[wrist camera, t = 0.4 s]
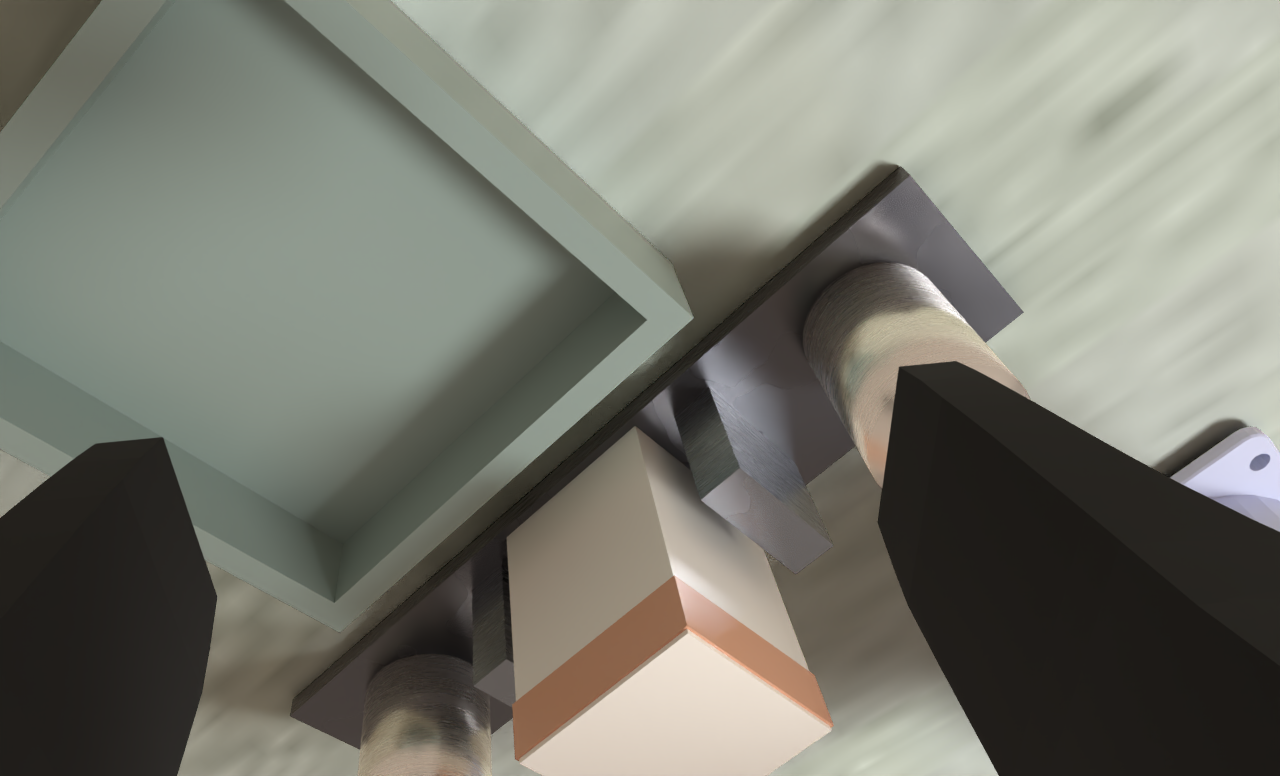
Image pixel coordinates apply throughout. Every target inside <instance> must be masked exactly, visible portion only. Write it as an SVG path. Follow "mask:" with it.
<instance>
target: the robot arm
mask: <svg viewBox="0 0 1280 776" xmlns="http://www.w3.org/2000/svg"><path fill="white" fill-rule="evenodd" d="M878 525H879V528H880V531H881V533H882V536H883V539H884V542H885V545H886V548H887V551H888V553H889V556H890V559H891V562H892V565H893V568H894V570H895V573H896V575H897V578H898V581H899V583H900V586H901V588H902V591H903V594H904V596H905V599H906V601H907V604H908V606H909V608H910V610H911V612H912V614H913V616H914V618H915V620H916V622H917V624H918V626H919V628H920V629H921V631H922V633H923V635H924V637H925V639H926V641H927V643H928V645H929V647H930V648H931V650H932V652H933V654H934V656H935V658H936V660H937V662H938V664H939V665H940V667H941V669H942V671H943V673H944V675H945V677H946V679H947V680H948V682H949V684H950V686H951V688H952V690H953V692H954V693H955V695H956V697H957V699H958V701H959V703H960V705H961V706H962V708H963V710H964V712H965V714H966V716H967V717H968V719H969V721H970V723H971V725H972V727H973V729H974V730H975V732H976V734H977V736H978V738H979V740H980V742H981V743H982V745H983V747H984V749H985V751H986V753H987V755H988V756H989V758H990V760H991V762H992V764H993V766H994V768H995V769H996V771H997V773H998V775H999V776H1280V452H1279V451H1278V449H1277V448H1276V447H1275V445H1274V444H1273V442H1272V441H1271V439H1270V438H1269V437H1268V436H1267V435H1266V434H1264V433H1263V432H1262V431H1261V430H1260V429H1258V428H1257V427H1251V426H1250V427H1245V428H1241V429H1239V430H1237V431H1236V432H1234V433H1232V434H1231V435H1230V436H1228V437H1227V438H1225V439H1224V440H1222V441H1221V442H1220V443H1218V444H1217V445H1215V446H1214V447H1212V448H1211V449H1210V450H1208V451H1207V452H1205V453H1204V454H1203V455H1201V456H1200V457H1198V458H1197V459H1195V460H1194V461H1193V462H1191V463H1190V464H1188V465H1187V466H1185V467H1184V468H1183V469H1181V470H1180V471H1178V472H1177V473H1176V474H1174V475H1173V476H1171V477H1170V478H1169V477H1167V476H1165V475H1164V474H1162V473H1160V472H1158V471H1156V470H1154V469H1152V468H1150V467H1148V466H1147V465H1145V464H1143V463H1141V462H1139V461H1137V460H1136V459H1134V458H1132V457H1130V456H1128V455H1126V454H1125V453H1123V452H1121V451H1119V450H1117V449H1116V448H1114V447H1112V446H1110V445H1108V444H1107V443H1105V442H1103V441H1101V440H1099V439H1098V438H1096V437H1094V436H1092V435H1091V434H1089V433H1087V432H1085V431H1084V430H1082V429H1080V428H1078V427H1077V426H1075V425H1073V424H1071V423H1070V422H1068V421H1066V420H1064V419H1063V418H1061V417H1059V416H1057V415H1056V414H1054V413H1052V412H1050V411H1049V410H1047V409H1045V408H1043V407H1042V406H1040V405H1038V404H1036V403H1035V402H1033V401H1031V400H1029V399H1028V398H1026V397H1024V396H1022V395H1021V394H1019V393H1017V392H1015V391H1013V390H1012V389H1010V388H1008V387H1006V386H1005V385H1003V384H1001V383H999V382H997V381H995V380H994V379H992V378H990V377H988V376H986V375H984V374H982V373H980V372H978V371H976V370H974V369H972V368H970V367H968V366H966V365H964V364H962V363H960V362H957V361H951V362H941V363H930V364H920V365H909V366H899V369H898V376H897V384H896V391H895V398H894V406H893V413H892V420H891V428H890V435H889V442H888V450H887V457H886V464H885V472H884V479H883V487H882V494H881V501H880V509H879V516H878ZM216 602H217V595H216V592H215V589H214V586H213V583H212V580H211V577H210V574H209V571H208V568H207V565H206V562H205V559H204V556H203V553H202V550H201V548H200V545H199V542H198V539H197V536H196V533H195V530H194V527H193V524H192V521H191V518H190V515H189V512H188V509H187V506H186V503H185V500H184V497H183V494H182V491H181V489H180V486H179V483H178V480H177V477H176V474H175V471H174V468H173V465H172V462H171V459H170V456H169V453H168V450H167V447H166V444H165V441H164V438H163V437H158V438H147V439H137V440H126V441H116V442H106V443H96V444H94V445H93V446H91V447H90V448H88V449H87V450H85V451H84V452H83V453H81V454H80V455H78V456H77V457H76V458H74V459H73V460H72V461H70V462H69V463H68V464H66V465H65V466H64V467H63V468H61V469H60V470H59V471H57V472H56V473H55V474H54V475H52V476H51V477H50V478H49V479H47V480H46V481H45V482H44V483H42V484H41V485H40V486H39V487H37V488H36V489H35V490H34V491H33V492H31V493H30V494H29V495H28V496H27V497H25V498H24V499H23V500H22V501H20V502H19V503H18V504H17V505H16V506H14V507H13V508H12V509H11V510H9V511H8V512H7V513H6V514H5V515H3V516H2V517H1V518H0V776H177V774H178V771H179V767H180V764H181V761H182V757H183V754H184V751H185V748H186V744H187V741H188V738H189V734H190V731H191V728H192V725H193V721H194V718H195V715H196V711H197V708H198V704H199V701H200V697H201V694H202V690H203V684H204V678H205V673H206V667H207V661H208V656H209V650H210V643H211V637H212V630H213V623H214V616H215V609H216Z"/></svg>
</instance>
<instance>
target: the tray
mask: <svg viewBox="0 0 1280 776" xmlns="http://www.w3.org/2000/svg"><path fill="white" fill-rule="evenodd" d="M693 318H694V317H693V315H692V312H691V310H690V307H689V305H688V302H687V300H686V297H685V295H684V292H683V290H682V288H681V285H680V283H679V280H678V278H677V275H676V273H675V270H674V268H673V266H672V263H671V262H670V261H669V260H668V259H666V258H665V257H664V256H663V255H662V254H661V253H660V252H659V251H658V250H657V249H656V248H655V247H654V246H653V245H652V244H650V243H649V242H648V241H647V240H646V239H645V238H644V237H643V236H642V235H641V234H640V233H639V232H638V231H637V230H635V229H634V228H633V227H632V226H631V225H630V224H629V223H628V222H627V221H626V220H625V219H624V218H623V217H622V216H621V215H619V214H618V213H617V212H616V211H615V210H614V209H613V208H612V207H611V206H610V205H609V204H608V203H607V202H606V201H605V200H603V199H602V198H601V197H600V196H599V195H598V194H597V193H596V192H595V191H594V190H593V189H592V188H591V187H590V186H588V185H587V184H586V183H585V182H584V181H583V180H582V179H581V178H580V177H579V176H578V175H577V174H576V173H575V172H574V171H572V170H571V169H570V168H569V167H568V166H567V165H566V164H565V163H564V162H563V161H562V160H561V159H560V158H559V157H557V156H556V155H555V154H554V153H553V152H552V151H551V150H550V149H549V148H548V147H547V146H546V145H545V144H544V143H543V142H541V141H540V140H539V139H538V138H537V137H536V136H535V135H534V134H533V133H532V132H531V131H530V130H529V129H528V128H527V127H525V126H524V125H523V124H522V123H521V122H520V121H519V120H518V119H517V118H516V117H515V116H514V115H513V114H512V113H510V112H509V111H508V110H507V109H506V108H505V107H504V106H503V105H502V104H501V103H500V102H499V101H498V100H497V99H496V98H494V97H493V96H492V95H491V94H490V93H489V92H488V91H487V90H486V89H485V88H484V87H483V86H482V85H481V84H479V83H478V82H477V81H476V80H475V79H474V78H473V77H472V76H471V75H470V74H469V73H468V72H467V71H466V70H465V69H463V68H462V67H461V66H460V65H459V64H458V63H457V62H456V61H455V60H454V59H453V58H452V57H451V56H450V55H448V54H447V53H446V52H445V51H444V50H443V49H442V48H441V47H440V46H439V45H438V44H437V43H436V42H435V41H434V40H432V39H431V38H430V37H429V36H428V35H427V34H426V33H425V32H424V31H423V30H422V29H421V28H420V27H419V26H418V25H416V24H415V23H414V22H413V21H412V20H411V19H410V18H409V17H408V16H407V15H406V14H405V13H404V12H403V11H401V10H400V9H399V8H398V7H397V6H396V5H395V4H394V3H393V2H392V1H391V0H102V1H101V2H100V4H99V5H98V6H97V7H96V9H95V10H94V11H93V13H92V14H91V15H90V17H89V18H88V19H87V20H86V22H85V23H84V24H83V26H82V27H81V28H80V30H79V31H78V32H77V33H76V35H75V36H74V37H73V39H72V40H71V41H70V43H69V44H68V45H67V46H66V48H65V49H64V50H63V52H62V53H61V54H60V55H59V57H58V58H57V59H56V61H55V62H54V63H53V65H52V66H51V67H50V68H49V70H48V71H47V72H46V74H45V75H44V76H43V78H42V79H41V80H40V81H39V83H38V84H37V85H36V87H35V88H34V89H33V91H32V92H31V93H30V94H29V96H28V97H27V98H26V100H25V101H24V102H23V103H22V105H21V106H20V107H19V109H18V110H17V111H16V113H15V114H14V115H13V116H12V118H11V119H10V120H9V122H8V123H7V124H6V126H5V127H4V128H3V129H2V131H1V132H0V450H2V451H4V452H6V453H8V454H10V455H11V456H13V457H15V458H17V459H19V460H21V461H23V462H24V463H26V464H28V465H30V466H32V467H34V468H35V469H37V470H39V471H41V472H43V473H45V474H47V475H48V476H50V477H51V476H52V475H54V474H55V473H56V472H57V471H59V470H60V469H61V468H63V467H64V466H65V465H66V464H68V463H69V462H70V461H72V460H73V459H74V458H76V457H77V456H78V455H80V454H81V453H83V452H84V451H85V450H87V449H88V448H90V447H91V446H93V445H94V444H96V443H106V442H116V441H126V440H137V439H147V438H158V437H163V438H164V441H165V444H166V447H167V450H168V453H169V456H170V459H171V462H172V465H173V468H174V471H175V474H176V477H177V480H178V483H179V486H180V489H181V491H182V494H183V497H184V500H185V503H186V506H187V509H188V512H189V515H190V518H191V521H192V524H193V527H194V530H195V533H196V536H197V539H198V542H199V545H200V548H201V550H202V553H203V556H204V559H205V560H206V561H208V562H209V563H211V564H213V565H215V566H217V567H219V568H221V569H222V570H224V571H226V572H228V573H230V574H232V575H233V576H235V577H237V578H239V579H241V580H243V581H245V582H246V583H248V584H250V585H252V586H254V587H256V588H258V589H259V590H261V591H263V592H265V593H267V594H269V595H271V596H272V597H274V598H276V599H278V600H280V601H282V602H283V603H285V604H287V605H289V606H291V607H293V608H295V609H296V610H298V611H300V612H302V613H304V614H306V615H308V616H309V617H311V618H313V619H315V620H317V621H319V622H320V623H322V624H324V625H326V626H328V627H330V628H332V629H333V630H335V631H337V632H339V633H340V632H341V631H342V630H344V629H345V628H346V627H347V626H348V625H349V624H350V623H351V622H353V621H354V620H355V619H356V618H357V617H358V616H359V615H360V614H362V613H363V612H364V611H365V610H366V609H367V608H368V607H369V606H371V605H372V604H373V603H374V602H375V601H376V600H377V599H378V598H380V597H381V596H382V595H383V594H384V593H385V592H386V591H387V590H389V589H390V588H391V587H392V586H393V585H394V584H395V583H396V582H398V581H399V580H400V579H401V578H402V577H403V576H404V575H405V574H407V573H408V572H409V571H410V570H411V569H412V568H413V567H414V566H416V565H417V564H418V563H419V562H420V561H421V560H422V559H423V558H425V557H426V556H427V555H428V554H429V553H430V552H431V551H432V550H434V549H435V548H436V547H437V546H438V545H439V544H440V543H441V542H443V541H444V540H445V539H446V538H447V537H448V536H449V535H450V534H452V533H453V532H454V531H455V530H456V529H457V528H458V527H459V526H461V525H462V524H463V523H464V522H465V521H466V520H467V519H468V518H470V517H471V516H472V515H473V514H474V513H475V512H476V511H477V510H479V509H480V508H481V507H482V506H483V505H484V504H485V503H486V502H488V501H489V500H490V499H491V498H492V497H493V496H494V495H495V494H497V493H498V492H499V491H500V490H501V489H502V488H503V487H504V486H506V485H507V484H508V483H509V482H510V481H511V480H512V479H513V478H515V477H516V476H517V475H518V474H519V473H520V472H521V471H522V470H524V469H525V468H526V467H527V466H528V465H529V464H530V463H531V462H533V461H534V460H535V459H536V458H537V457H538V456H539V455H540V454H542V453H543V452H544V451H545V450H546V449H547V448H548V447H549V446H551V445H552V444H553V443H554V442H555V441H556V440H557V439H558V438H559V437H561V436H562V435H563V434H564V433H565V432H566V431H567V430H568V429H570V428H571V427H572V426H573V425H574V424H575V423H576V422H577V421H579V420H580V419H581V418H582V417H583V416H584V415H585V414H586V413H588V412H589V411H590V410H591V409H592V408H593V407H594V406H595V405H597V404H598V403H599V402H600V401H601V400H602V399H603V398H604V397H606V396H607V395H608V394H609V393H610V392H611V391H612V390H613V389H615V388H616V387H617V386H618V385H619V384H620V383H621V382H622V381H624V380H625V379H626V378H627V377H628V376H629V375H630V374H631V373H633V372H634V371H635V370H636V369H637V368H638V367H639V366H640V365H642V364H643V363H644V362H645V361H646V360H647V359H648V358H649V357H651V356H652V355H653V354H654V353H655V352H656V351H657V350H658V349H660V348H661V347H662V346H663V345H664V344H665V343H666V342H667V341H669V340H670V339H671V338H672V337H673V336H674V335H675V334H676V333H678V332H679V331H680V330H681V329H682V328H683V327H684V326H685V325H687V324H688V323H689V322H690V321H691V320H692V319H693Z"/></svg>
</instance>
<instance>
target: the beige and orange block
mask: <svg viewBox="0 0 1280 776" xmlns="http://www.w3.org/2000/svg"><path fill="white" fill-rule="evenodd" d="M507 554H508V572H509V589H510V607H511V624H512V642H513V659H514V677H515V694H516V702H515V703H514V704H512V710H513V729H514V747H515V759H516V760H518V761H519V764H521V765H523V766H525V767H527V768H529V769H531V770H533V771H535V772H537V773H539V774H541V775H543V776H767V775H769V774H770V773H772V772H773V771H774V770H776V769H777V768H779V767H780V766H782V765H783V764H784V763H786V762H787V761H789V760H790V759H792V758H793V757H794V756H796V755H797V754H799V753H800V752H802V751H803V750H804V749H806V748H807V747H809V746H810V745H812V744H813V743H815V742H816V741H817V740H819V739H820V738H822V737H823V736H825V735H826V734H827V733H829V732H830V731H832V730H831V727H833V726H834V725H833V722H832V720H831V717H830V714H829V712H828V709H827V707H826V704H825V701H824V699H823V696H822V693H821V691H820V688H819V685H818V683H817V680H816V678H815V675H814V674H812V673H811V672H810V671H809V669H808V666H807V663H806V661H805V658H804V656H803V653H802V650H801V648H800V645H799V642H798V640H797V637H796V634H795V632H794V629H793V626H792V624H791V621H790V618H789V616H788V613H787V610H786V608H785V605H784V602H783V600H782V597H781V595H780V592H779V589H778V587H777V584H776V581H775V579H774V576H773V573H772V571H771V568H770V565H769V563H768V560H767V557H766V555H765V552H764V549H763V548H761V547H760V546H759V545H757V544H756V543H755V542H754V541H752V540H751V539H750V538H749V537H747V536H746V535H745V534H743V533H742V532H741V531H740V530H738V529H737V528H736V527H734V526H733V525H732V524H731V523H729V522H728V521H727V520H726V519H724V518H723V517H722V516H720V515H719V514H718V513H717V512H715V511H714V510H713V509H711V508H710V507H709V506H708V505H706V504H705V503H704V502H702V501H701V500H700V496H699V493H698V490H697V487H696V484H695V481H694V478H693V474H692V471H691V470H690V469H689V468H687V467H686V466H685V465H684V464H682V463H681V462H680V461H679V460H677V459H676V458H675V457H673V456H672V455H671V454H670V453H668V452H667V451H666V450H665V449H663V448H662V447H661V446H660V445H658V444H657V443H656V442H655V441H653V440H652V439H651V438H650V437H648V436H647V435H646V434H645V433H643V432H642V431H641V430H640V429H638V428H637V427H636V426H634V427H633V428H632V429H631V430H630V431H629V432H627V433H626V434H625V435H624V436H623V437H622V438H620V439H619V440H618V441H617V442H616V443H615V444H614V445H612V446H611V447H610V448H609V449H608V450H607V451H605V452H604V453H603V454H602V455H601V456H600V457H599V458H597V459H596V460H595V461H594V462H593V463H592V464H590V465H589V466H588V467H587V468H586V469H585V470H584V471H582V472H581V473H580V474H579V475H578V476H577V477H576V478H574V479H573V480H572V481H571V482H570V483H569V484H567V485H566V486H565V487H564V488H563V489H562V490H561V491H559V492H558V493H557V494H556V495H555V496H554V497H552V498H551V499H550V500H549V501H548V502H547V503H546V504H544V505H543V506H542V507H541V508H540V509H539V510H538V511H536V512H535V513H534V514H533V515H532V516H531V517H529V518H528V519H527V520H526V521H525V522H524V523H523V524H521V525H520V526H519V527H518V528H517V529H516V530H514V531H513V532H512V533H511V534H510V535H509V536H508V537H507Z"/></svg>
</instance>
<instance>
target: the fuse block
mask: <svg viewBox="0 0 1280 776" xmlns="http://www.w3.org/2000/svg"><path fill="white" fill-rule="evenodd" d="M1022 313H1023V311H1022V310H1021V308H1020V307H1019V306H1018V305H1017V304H1016V302H1015V301H1014V300H1013V299H1012V298H1011V296H1010V295H1009V294H1008V293H1007V292H1006V290H1005V289H1004V288H1003V287H1002V286H1001V284H1000V283H999V282H998V281H997V279H996V278H995V277H994V276H993V275H992V273H991V272H990V271H989V270H988V269H987V267H986V266H985V265H984V264H983V263H982V261H981V260H980V259H979V258H978V257H977V255H976V254H975V253H974V252H973V251H972V249H971V248H970V247H969V246H968V244H967V243H966V242H965V241H964V240H963V238H962V237H961V236H960V235H959V234H958V232H957V231H956V230H955V229H954V228H953V226H952V225H951V224H950V223H949V222H948V220H947V219H946V218H945V217H944V216H943V214H942V213H941V212H940V211H939V209H938V208H937V207H936V206H935V205H934V203H933V202H932V201H931V200H930V199H929V197H928V196H927V195H926V194H925V193H924V191H923V190H922V189H921V188H920V187H919V185H918V184H917V183H916V182H915V181H914V179H913V178H912V177H911V176H910V175H909V174H908V173H907V172H906V171H905V170H904V169H903V168H902V167H901V166H900V167H899V168H898V169H897V170H896V171H894V172H893V173H892V174H891V175H890V176H889V177H888V178H886V179H885V180H884V181H883V182H882V183H881V184H880V185H879V186H877V187H876V188H875V189H874V190H873V191H872V192H871V193H869V194H868V195H867V196H866V197H865V198H864V199H863V200H861V201H860V202H859V203H858V204H857V205H856V206H855V207H853V208H852V209H851V210H850V211H849V212H848V213H847V214H845V215H844V216H843V217H842V218H841V219H840V220H839V221H838V222H836V223H835V224H834V225H833V226H832V227H831V228H830V229H828V230H827V231H826V232H825V233H824V234H823V235H822V236H820V237H819V238H818V239H817V240H816V241H815V242H814V243H812V244H811V245H810V246H809V247H808V248H807V249H806V250H805V251H803V252H802V253H801V254H800V255H799V256H798V257H797V258H795V259H794V260H793V261H792V262H791V263H790V264H789V265H787V266H786V267H785V268H784V269H783V270H782V271H781V272H779V273H778V274H777V275H776V276H775V277H774V278H773V279H771V280H770V281H769V282H768V283H767V284H766V285H765V286H764V287H762V288H761V289H760V290H759V291H758V292H757V293H756V294H754V295H753V296H752V297H751V298H750V299H749V300H748V301H746V302H745V303H744V304H743V305H742V306H741V307H740V308H738V309H737V310H736V311H735V312H734V313H733V314H732V315H730V316H729V317H728V318H727V319H726V320H725V321H724V322H723V323H721V324H720V325H719V326H718V327H717V328H716V329H715V330H713V331H712V332H711V333H710V334H709V335H708V336H707V337H705V338H704V339H703V340H702V341H701V342H700V343H699V344H697V345H696V346H695V347H694V348H693V349H692V350H691V351H690V352H688V353H687V354H686V355H685V356H684V357H683V358H682V359H680V360H679V361H678V362H677V363H676V364H675V365H674V366H672V367H671V368H670V369H669V370H668V371H667V372H666V373H664V374H663V375H662V376H661V377H660V378H659V379H658V380H656V381H655V382H654V383H653V384H652V385H651V386H650V387H649V388H647V389H646V390H645V391H644V392H643V393H642V394H641V395H639V396H638V397H637V398H636V399H635V400H634V401H633V402H631V403H630V404H629V405H628V406H627V407H626V408H625V409H623V410H622V411H621V412H620V413H619V414H618V415H617V416H615V417H614V418H613V419H612V420H611V421H610V422H609V423H608V424H606V425H605V426H604V427H603V428H602V429H601V430H600V431H598V432H597V433H596V434H595V435H594V436H593V437H592V438H590V439H589V440H588V441H587V442H586V443H585V444H584V445H582V446H581V447H580V448H579V449H578V450H577V451H576V452H575V453H573V454H572V455H571V456H570V457H569V458H568V459H567V460H565V461H564V462H563V463H562V464H561V465H560V466H559V467H557V468H556V469H555V470H554V471H553V472H552V473H551V474H549V475H548V476H547V477H546V478H545V479H544V480H543V481H541V482H540V483H539V484H538V485H537V486H536V487H535V488H534V489H532V490H531V491H530V492H529V493H528V494H527V495H526V496H524V497H523V498H522V499H521V500H520V501H519V502H518V503H516V504H515V505H514V506H513V507H512V508H511V509H510V510H508V511H507V512H506V513H505V514H504V515H503V516H502V517H500V518H499V519H498V520H497V521H496V522H495V523H494V524H493V525H491V526H490V527H489V528H488V529H487V530H486V531H485V532H483V533H482V534H481V535H480V536H479V537H478V538H477V539H475V540H474V541H473V542H472V543H471V544H470V545H469V546H467V547H466V548H465V549H464V550H463V551H462V552H461V553H459V554H458V555H457V556H456V557H455V558H454V559H453V560H452V561H450V562H449V563H448V564H447V565H446V566H445V567H444V568H442V569H441V570H440V571H439V572H438V573H437V574H436V575H434V576H433V577H432V578H431V579H430V580H429V581H428V582H426V583H425V584H424V585H423V586H422V587H421V588H420V589H419V590H417V591H416V592H415V593H414V594H413V595H412V596H411V597H409V598H408V599H407V600H406V601H405V602H404V603H403V604H401V605H400V606H399V607H398V608H397V609H396V610H395V611H393V612H392V613H391V614H390V615H389V616H388V617H387V618H385V619H384V620H383V621H382V622H381V623H380V624H379V625H378V626H376V627H375V628H374V629H373V630H372V631H371V632H370V633H368V634H367V635H366V636H365V637H364V638H363V639H362V640H360V641H359V642H358V643H357V644H356V645H355V646H354V647H352V648H351V649H350V650H349V651H348V652H347V653H346V654H344V655H343V656H342V657H341V658H340V659H339V660H338V661H337V662H335V663H334V664H333V665H332V666H331V667H330V668H329V669H327V670H326V671H325V672H324V673H323V674H322V675H321V676H319V677H318V678H317V679H316V680H315V681H314V682H313V683H311V684H310V685H309V686H308V687H307V688H306V689H305V690H304V691H302V692H301V693H300V694H299V695H298V696H297V697H296V698H294V699H293V702H292V708H291V713H290V716H291V717H293V718H295V719H297V720H299V721H301V722H304V723H306V724H308V725H310V726H312V727H314V728H316V729H318V730H320V731H322V732H324V733H327V734H329V735H331V736H333V737H335V738H337V739H339V740H341V741H343V742H345V743H347V744H350V745H352V746H354V747H356V748H358V749H360V756H359V766H358V776H492V763H491V734H493V733H494V732H495V731H497V730H498V729H499V728H500V727H502V726H503V725H504V724H505V723H507V722H508V721H509V720H510V719H512V718H513V710H512V704H514V703H515V702H516V694H515V677H514V659H513V642H512V624H511V607H510V589H509V572H508V554H507V537H508V536H509V535H510V534H511V533H512V532H513V531H514V530H516V529H517V528H518V527H519V526H520V525H521V524H523V523H524V522H525V521H526V520H527V519H528V518H529V517H531V516H532V515H533V514H534V513H535V512H536V511H538V510H539V509H540V508H541V507H542V506H543V505H544V504H546V503H547V502H548V501H549V500H550V499H551V498H552V497H554V496H555V495H556V494H557V493H558V492H559V491H561V490H562V489H563V488H564V487H565V486H566V485H567V484H569V483H570V482H571V481H572V480H573V479H574V478H576V477H577V476H578V475H579V474H580V473H581V472H582V471H584V470H585V469H586V468H587V467H588V466H589V465H590V464H592V463H593V462H594V461H595V460H596V459H597V458H599V457H600V456H601V455H602V454H603V453H604V452H605V451H607V450H608V449H609V448H610V447H611V446H612V445H614V444H615V443H616V442H617V441H618V440H619V439H620V438H622V437H623V436H624V435H625V434H626V433H627V432H629V431H630V430H631V429H632V428H633V427H634V426H636V427H637V428H638V429H640V430H641V431H642V432H643V433H645V434H646V435H647V436H648V437H650V438H651V439H652V440H653V441H655V442H656V443H657V444H658V445H660V446H661V447H662V448H663V449H665V450H666V451H667V452H668V453H670V454H671V455H672V456H673V457H675V458H676V459H677V460H679V461H680V462H681V463H682V464H684V465H685V466H686V467H687V468H689V469H690V470H691V471H692V474H693V478H694V481H695V484H696V487H697V490H698V493H699V496H700V500H701V501H702V502H704V503H705V504H706V505H708V506H709V507H710V508H711V509H713V510H714V511H715V512H717V513H718V514H719V515H720V516H722V517H723V518H724V519H726V520H727V521H728V522H729V523H731V524H732V525H733V526H734V527H736V528H737V529H738V530H740V531H741V532H742V533H743V534H745V535H746V536H747V537H749V538H750V539H751V540H752V541H754V542H755V543H756V544H757V545H759V546H760V547H761V548H763V549H764V550H765V551H766V552H768V553H769V554H770V555H772V556H773V557H774V558H775V559H777V560H778V561H779V562H781V563H782V564H783V565H784V566H786V567H787V568H788V569H789V570H791V571H792V572H793V573H795V574H797V573H798V572H800V571H801V570H802V569H803V568H805V567H806V566H807V565H809V564H810V563H811V562H813V561H814V560H815V559H817V558H818V557H819V556H820V555H822V554H823V553H824V552H826V551H827V550H828V549H830V548H831V547H832V546H834V545H833V543H832V541H831V539H830V537H829V534H828V532H827V530H826V528H825V526H824V524H823V522H822V519H821V517H820V515H819V513H818V511H817V509H816V507H815V504H814V502H813V500H812V498H811V496H810V494H809V492H808V489H807V487H806V485H807V484H808V483H809V482H810V481H812V480H813V479H814V478H815V477H817V476H818V475H819V474H821V473H822V472H823V471H824V470H826V469H827V468H828V467H829V466H831V465H832V464H833V463H834V462H836V461H837V460H838V459H839V458H841V457H842V456H843V455H844V454H846V453H847V452H848V451H850V450H851V449H852V448H853V447H855V446H856V448H857V449H858V451H859V453H860V455H861V456H862V458H863V460H864V462H865V464H866V465H867V467H868V469H869V471H870V472H871V474H872V476H873V478H874V479H875V481H876V482H877V484H878V485H879V486H880V487H881V488H882V487H883V479H884V472H885V464H886V457H887V450H888V442H889V435H890V428H891V420H892V413H893V406H894V398H895V391H896V384H897V376H898V369H899V366H909V365H920V364H930V363H941V362H951V361H957V362H960V363H962V364H964V365H966V366H968V367H970V368H972V369H974V370H976V371H978V372H980V373H982V374H984V375H986V376H988V377H990V378H992V379H994V380H995V381H997V382H999V383H1001V384H1003V385H1005V386H1006V387H1008V388H1010V389H1012V390H1013V391H1015V392H1017V393H1019V394H1021V395H1022V396H1024V397H1026V398H1028V399H1029V400H1030V397H1029V395H1028V393H1027V391H1026V390H1025V388H1024V387H1023V385H1022V384H1021V383H1020V382H1019V381H1018V379H1017V378H1016V377H1015V376H1014V375H1013V374H1012V373H1011V372H1010V370H1009V369H1008V368H1007V367H1006V366H1005V365H1004V364H1003V362H1002V361H1001V360H1000V359H999V358H998V357H997V356H996V354H995V353H994V352H993V351H992V350H991V349H990V348H989V347H988V345H987V344H986V342H987V341H988V340H989V339H991V338H992V337H993V336H994V335H996V334H997V333H998V332H1000V331H1001V330H1002V329H1003V328H1005V327H1006V326H1007V325H1008V324H1010V323H1011V322H1012V321H1013V320H1015V319H1016V318H1017V317H1018V316H1020V315H1021V314H1022Z"/></svg>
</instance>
